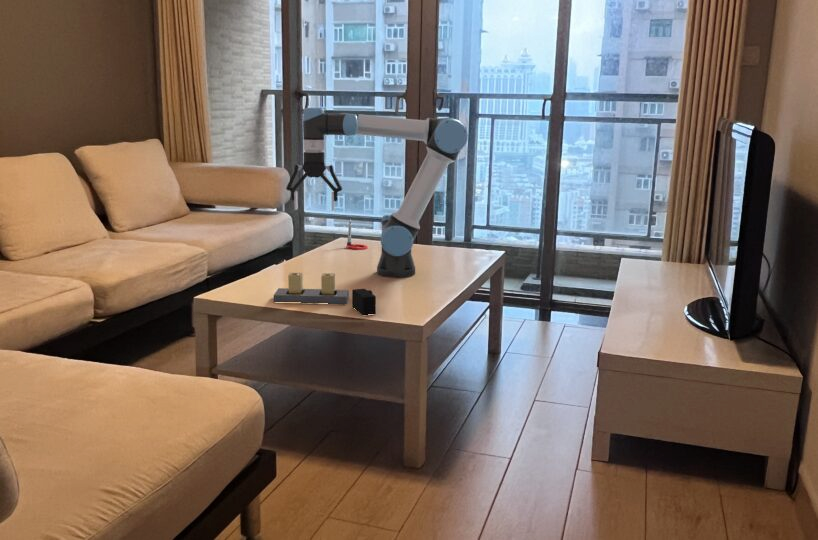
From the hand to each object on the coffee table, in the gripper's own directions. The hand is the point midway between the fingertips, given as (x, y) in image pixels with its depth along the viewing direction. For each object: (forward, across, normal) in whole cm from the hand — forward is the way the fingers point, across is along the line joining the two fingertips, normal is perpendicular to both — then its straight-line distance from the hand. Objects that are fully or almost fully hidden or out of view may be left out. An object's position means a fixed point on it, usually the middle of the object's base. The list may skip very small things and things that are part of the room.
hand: (314, 209), depth 281 cm
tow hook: (+27, +11, +61) cm, 68 cm away
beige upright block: (+26, +8, -31) cm, 41 cm away
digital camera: (+27, +21, -42) cm, 54 cm away
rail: (+27, +3, -31) cm, 41 cm away
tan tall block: (+26, -3, -31) cm, 40 cm away
